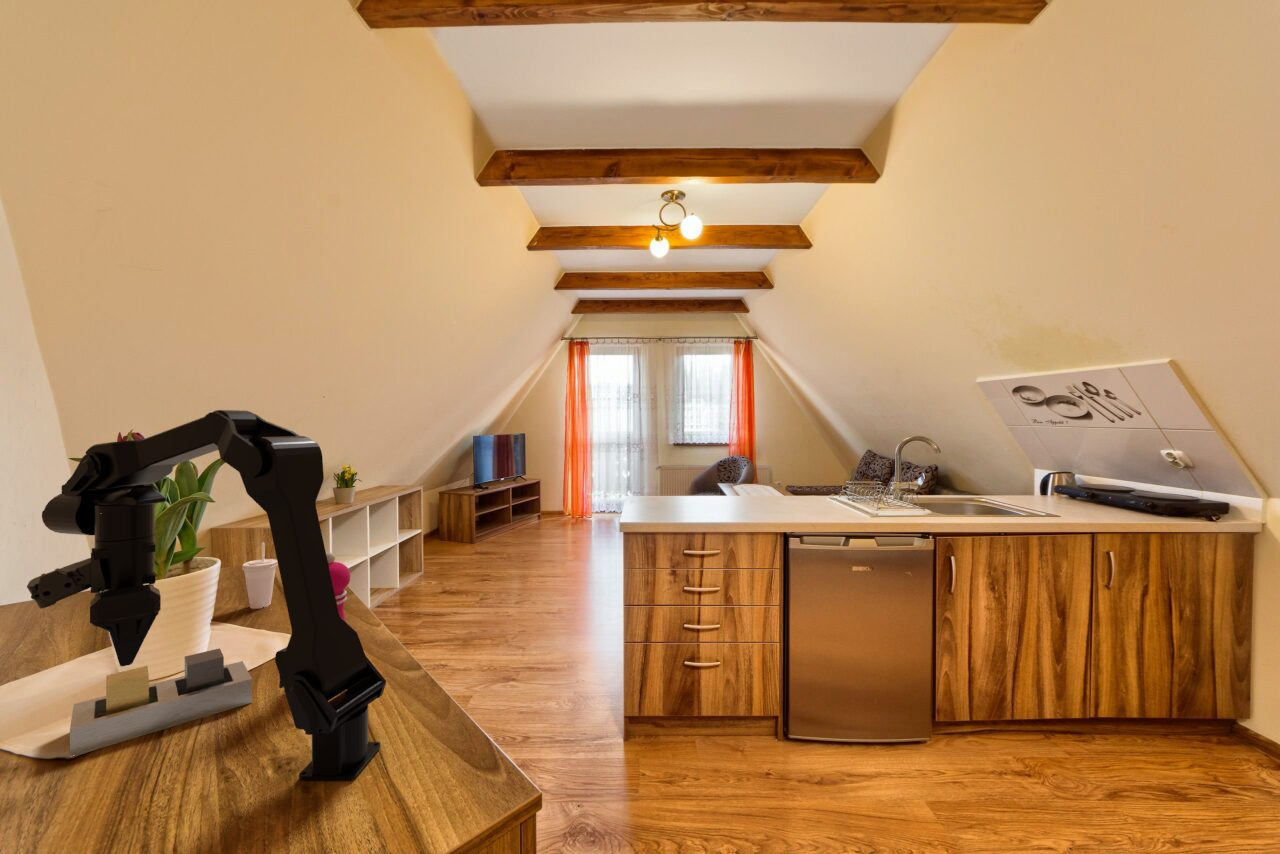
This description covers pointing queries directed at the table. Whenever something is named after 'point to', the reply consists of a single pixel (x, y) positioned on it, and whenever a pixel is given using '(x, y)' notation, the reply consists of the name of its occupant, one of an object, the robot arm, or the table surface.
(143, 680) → the wooden toy block
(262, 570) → the smoothie
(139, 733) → the grey slotted block holder
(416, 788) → the table surface
